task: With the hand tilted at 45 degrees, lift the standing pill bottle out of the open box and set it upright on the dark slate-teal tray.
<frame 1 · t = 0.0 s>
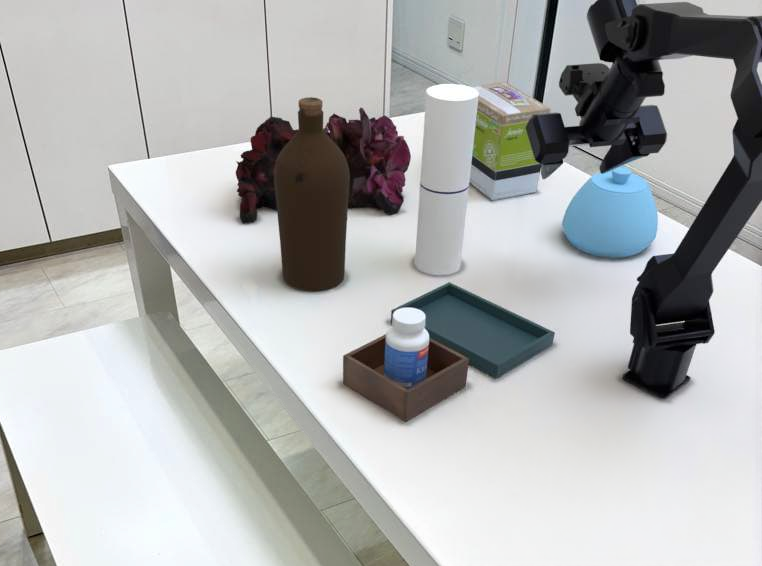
hand: (572, 173, 124), 15 cm above the table, tool tilted 35°, fingers open, 9 cm apart
tea box: (493, 183, 159), on the table
open box: (404, 385, 111), on the table
cylindrical container: (437, 265, 135), on the table
pill bottle: (404, 385, 111), resting on open box
tray: (470, 333, 120), on the table
olive oil: (313, 277, 131), on the table
sugar bowl: (605, 241, 142), on the table
flower arrangement: (322, 201, 152), on the table
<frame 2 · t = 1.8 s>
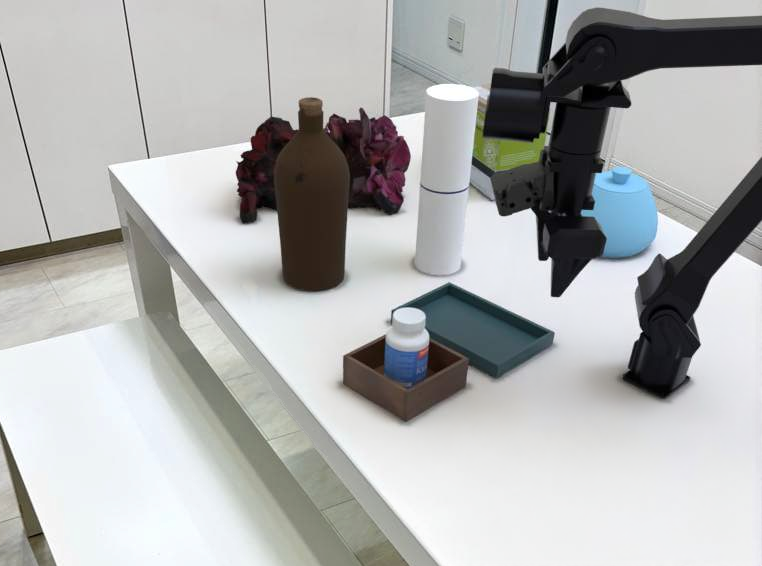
hand: (548, 277, 105), 13 cm above the table, tool pointing down, fingers open, 9 cm apart
nothing on the table moved.
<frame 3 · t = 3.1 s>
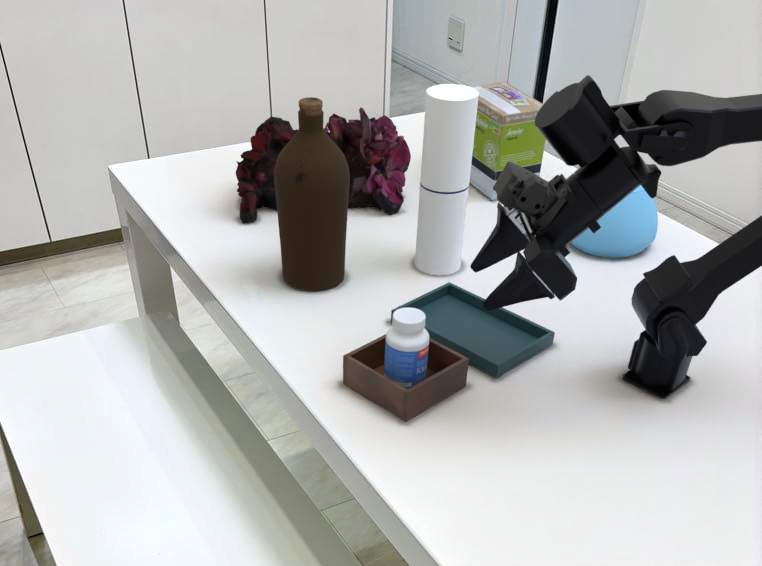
hand: (478, 287, 102), 13 cm above the table, tool tilted 45°, fingers open, 9 cm apart
nothing on the table moved.
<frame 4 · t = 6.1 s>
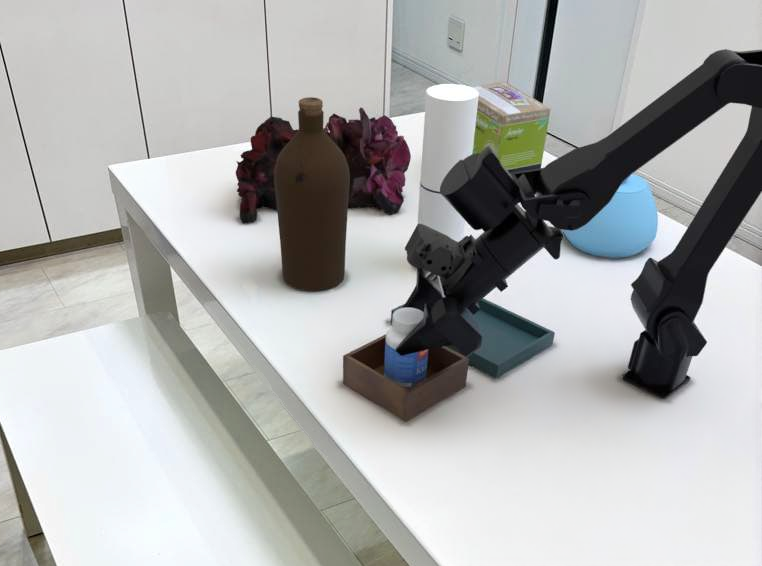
hand: (395, 340, 106), 7 cm above the table, tool tilted 45°, fingers closed on pill bottle, 5 cm apart
pill bottle: (404, 385, 111), resting on open box, touching gripper
everything else where it was.
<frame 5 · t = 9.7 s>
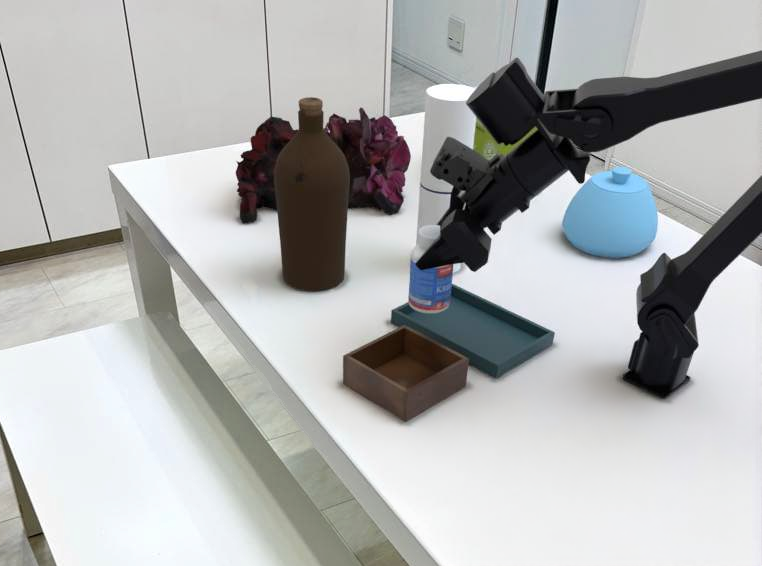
hand: (421, 256, 108), 13 cm above the table, tool tilted 45°, fingers closed on pill bottle, 5 cm apart
pill bottle: (429, 305, 112), point 7 cm above the table, touching gripper
everything else where it was.
when the fingers open (7 cm above the table, at t = 13.3 s): pill bottle stays where it is, resting on tray.
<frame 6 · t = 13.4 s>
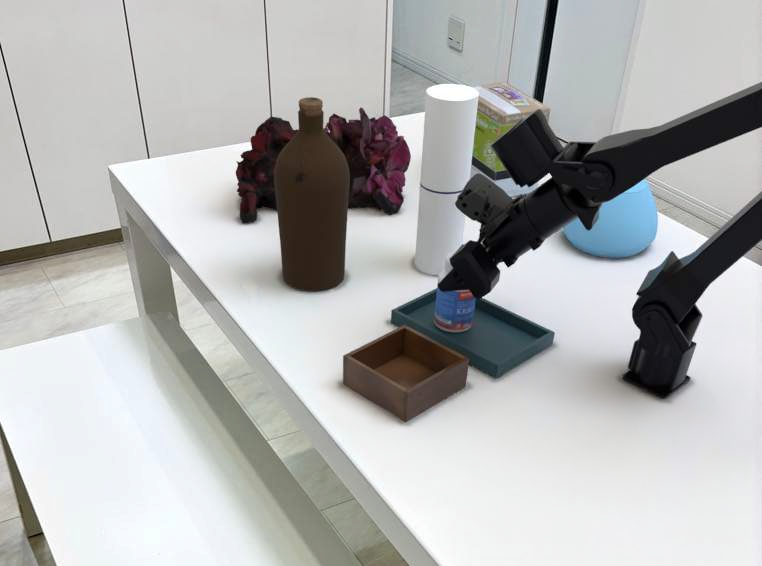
hand: (447, 279, 117), 7 cm above the table, tool tilted 45°, fingers open, 5 cm apart
pill bottle: (453, 325, 121), resting on tray
everything else where it was.
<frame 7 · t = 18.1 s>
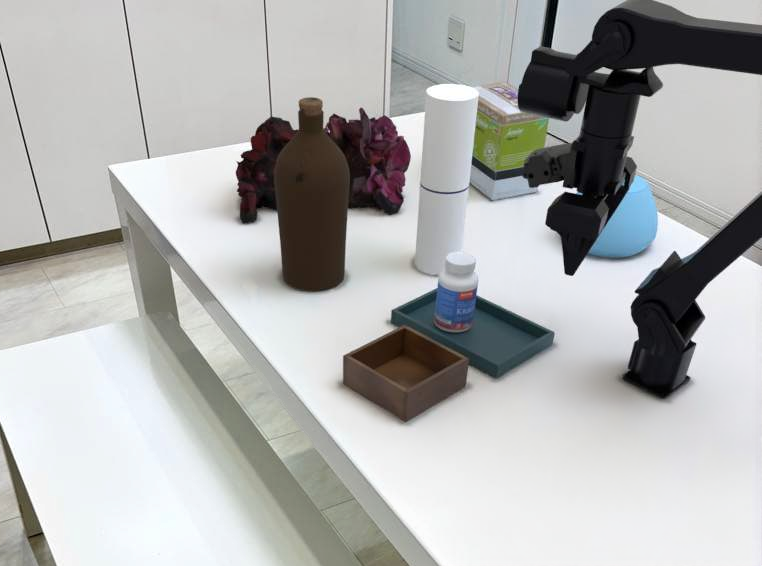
hand: (579, 259, 109), 13 cm above the table, tool pointing down, fingers open, 9 cm apart
nothing on the table moved.
at the end: pill bottle inside the target area in the tray (2.8 cm from its centre), point 0.3 cm above the tray's base; pill bottle tilted 0°; the gripper is holding nothing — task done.
